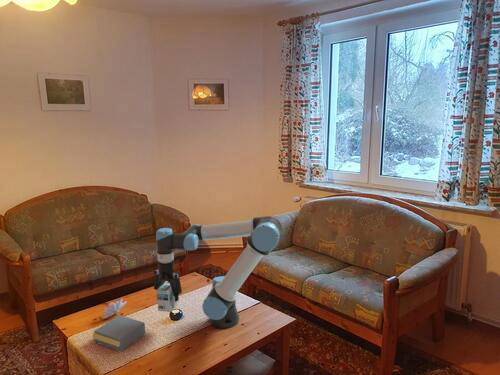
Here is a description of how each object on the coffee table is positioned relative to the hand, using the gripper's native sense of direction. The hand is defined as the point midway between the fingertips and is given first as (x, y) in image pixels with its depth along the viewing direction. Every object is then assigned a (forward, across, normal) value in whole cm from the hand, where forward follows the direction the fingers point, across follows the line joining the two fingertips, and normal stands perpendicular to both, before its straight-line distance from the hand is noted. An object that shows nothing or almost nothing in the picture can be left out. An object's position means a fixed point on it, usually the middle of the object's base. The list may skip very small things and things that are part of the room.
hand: (168, 305), depth 185 cm
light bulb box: (+1, 0, 0) cm, 1 cm away
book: (+13, -17, -16) cm, 27 cm away
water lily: (+13, -35, -3) cm, 37 cm away
